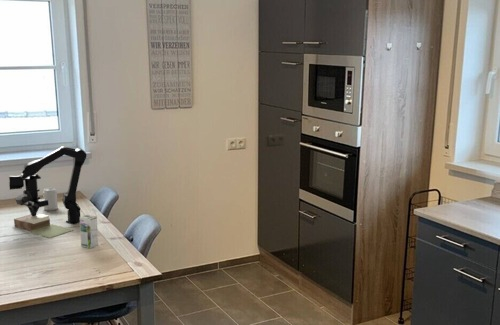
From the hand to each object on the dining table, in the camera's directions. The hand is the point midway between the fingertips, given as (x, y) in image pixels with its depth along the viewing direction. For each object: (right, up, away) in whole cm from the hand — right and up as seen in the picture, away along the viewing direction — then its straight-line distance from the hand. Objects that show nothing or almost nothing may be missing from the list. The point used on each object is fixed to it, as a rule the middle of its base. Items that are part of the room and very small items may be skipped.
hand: (33, 217), depth 276 cm
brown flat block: (-1, -5, +2) cm, 5 cm away
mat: (+11, -7, -6) cm, 14 cm away
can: (-3, +1, +32) cm, 32 cm away
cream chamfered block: (+3, -2, -2) cm, 4 cm away
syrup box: (+36, -11, -25) cm, 46 cm away
